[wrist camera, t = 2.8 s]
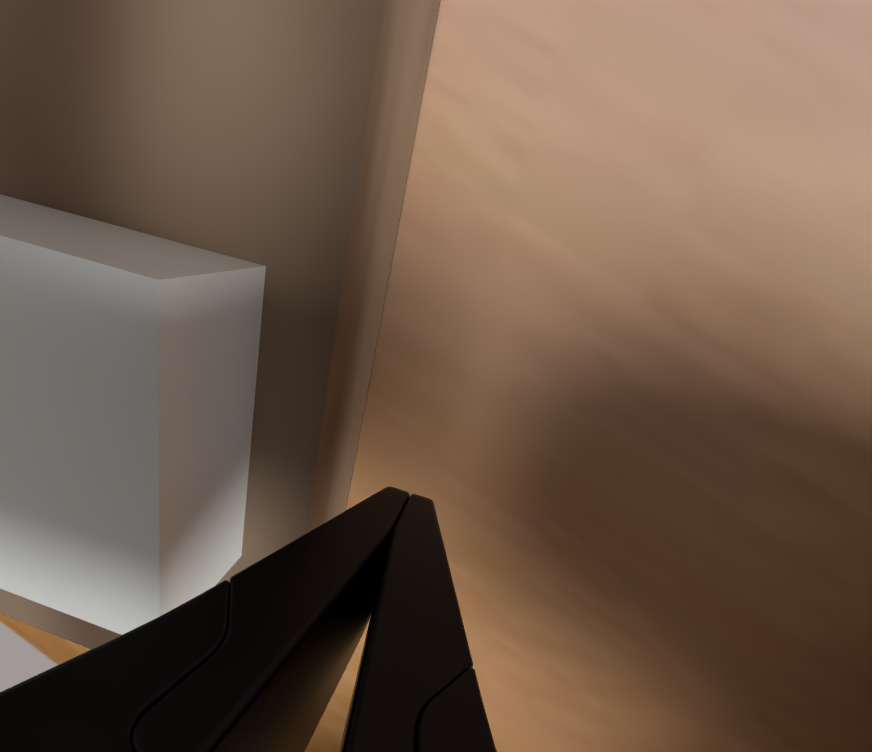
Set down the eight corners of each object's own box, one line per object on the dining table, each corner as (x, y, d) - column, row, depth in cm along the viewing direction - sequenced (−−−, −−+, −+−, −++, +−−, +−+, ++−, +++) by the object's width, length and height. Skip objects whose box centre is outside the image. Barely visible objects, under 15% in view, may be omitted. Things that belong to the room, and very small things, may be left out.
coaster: (265, 265, 8) (157, 279, 6) (241, 555, 10) (159, 649, 8) (-94, 168, 9) (-318, 145, 6) (-38, 458, 11) (-185, 517, 9)
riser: (440, 0, 9) (400, -110, 6) (323, 629, 15) (277, 721, 12) (-22, -89, 10) (-240, -217, 7) (49, 531, 16) (-50, 594, 13)
